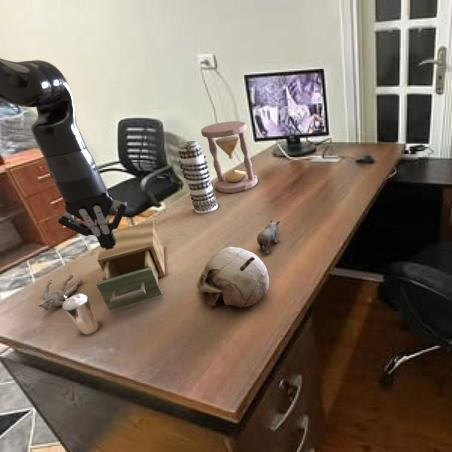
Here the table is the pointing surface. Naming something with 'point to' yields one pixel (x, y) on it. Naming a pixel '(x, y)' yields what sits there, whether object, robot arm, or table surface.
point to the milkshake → (80, 312)
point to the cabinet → (135, 245)
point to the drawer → (129, 280)
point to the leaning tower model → (197, 177)
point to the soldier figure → (57, 294)
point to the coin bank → (233, 278)
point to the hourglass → (230, 155)
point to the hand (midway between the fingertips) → (110, 247)
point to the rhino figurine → (268, 236)
